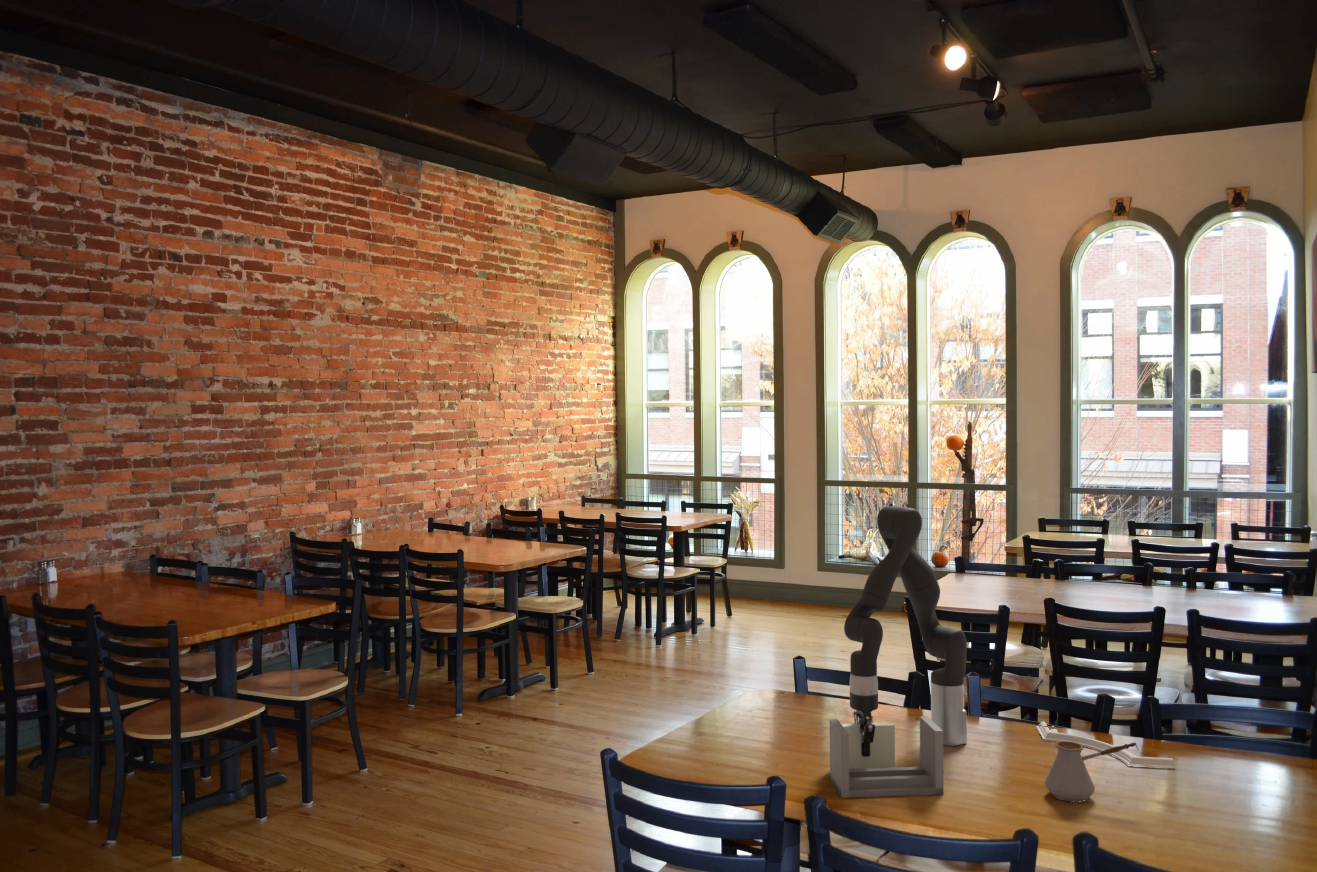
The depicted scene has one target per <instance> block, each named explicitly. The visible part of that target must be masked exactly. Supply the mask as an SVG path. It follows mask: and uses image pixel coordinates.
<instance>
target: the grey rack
mask: <svg viewBox="0 0 1317 872" xmlns="http://www.w3.org/2000/svg"><path fill="white" fill-rule="evenodd" d="M841 724H842V723H841V722H840V721H839V719H837V718H835V719H834V718H831V719H829V780H830V782H831V784H832V783H833V784H832V785H833V787H834V789H835V790H836V792H837V793H838V795H839V797H840V798H841V799H846V798H873V797H874V798H875V797H879V798H880V797H900V796H903V797H905V796H906V797H907V795H908V796H932V795H944V793H945V791H944V745H943V730H942V729H940V728H939V727H938V726H937V725H936V724H935V723H934V722H933V721H932V720H931V717H928V716H919V762H920V763H919V765H920V766H903V767H902V766H895V767H892V768H861V769H849V734H848V732H847V731H846V730H845V729H844V727H843V726H842V725H841Z"/></svg>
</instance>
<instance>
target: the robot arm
mask: <svg viewBox="0 0 1317 872" xmlns="http://www.w3.org/2000/svg"><path fill="white" fill-rule="evenodd" d="M921 515H922V514H921V513H920V512H919V511H918V510H917V509H915V508H912V507H903V506H895V505H894V506H893V505H892V506H891V505H889V506H884V507H882V508H881V509H880V510H879V511H878V513H877V518H876V520H877V521H876V523H877V528H878V532H879V534H880V536H881V538H882V540H883V542H884V544H885V545H886V547H887V550H888V553H887V554H886V555H884V557H883V559H882V560H881V561H879V563H878V564H876V566H875V567H874V568H873V569H872V570H871V571H870V573H869V575H868V577H867V579H866V582H865V584H864V587H863V589H862V593H861V595H860V598H858V601H857V602H856V603H855V605H854V606H853V608H852V609H851V611H850V612H849V614H848V615H847V616H846V619H845V622H844V624H843V625H844V626H843V629H844V635H845V636H846V638H848V640H850V641H852V642H853V641H854V642H857V643H861V644H862V645H861V648H860V650H854V651H853V652H851V654H850V658H849V659H850V661H849V663H850V664H849V665H850V666H849V667H850V669H849V670H850V673H849V674H850V677H849V707H850V708H851V709H853V710H855V711H853V721H854V724H859V733H860V734H861V750H862V756H863V757H869V756H870V743H871V742H873V738H874V732H875V725H874V724H872V723H874V716H873V715H872V712H873V711H875V710H877V709H879V681H878V662H877V661H878V656H879V653H880V649H881V645H882V641H883V636H884V630H883V626H882V624H881V622H880V621H879V620H878V619H876V618H873V617H871V616H872V615H873V614H876V613H881V612H883V611H884V610H885V609H886V606H887V604H888V600H889V598H890V595H891V592H892V590H893V586H894V585H895V581H896V579H897V577H898V575H899V576H900V577H901V581H902V584H903V587H904V589H905V592H906V595H907V596H908V599H909V601H910V604H911V606H912V609H913V611H914V612H913V613H914V615H915V617H916V620H917V623H918V627H919V631H920V635H921V639H922V643H923V646H924V648H925V650H926V652H927V653H928V654H929V655H930V656H932V657H934V658H937V659H942V660H945V663H944V667H943V668H942V667H941V668H938V669H934V670H932V671H931V673H930V719H931V720H932V721H933V722H934V723H935V724H936V725H937V726H938V727H939V728H940V729H942V730H943V746H949V747H950V746H951V747H955V746H961V745H964V744H965V745H966V744H967V742H968V738H967V737H968V736H967V735H968V733H967V731H968V728H967V723H968V722H967V721H968V720H967V718H968V717H967V710H966V708H965V695H964V694H965V693H964V692H965V690H964V689H965V688H964V687H965V686H964V685H965V680H964V679H965V675H966V670H967V653H968V652H967V650H968V641H967V638H966V634H965V632H963V630H961V629H958V628H954V627H948V626H942V624H941V623H940V622H939V619H938V616H937V614H936V609H937V605H938V604H939V601H940V596H941V588H940V584H939V582H938V578H937V576H936V574H935V571H934V569H933V568H932V567H931V565H930V564H929V563H928V562H927V561H926V559H924V558H923V557H922V555H920V553H918V551H916V549H914V546H915V544H916V543H917V541H918V538H919V536H920V533H921V530H922V526H923V518H922V516H921ZM862 730H864V731H862ZM866 737H868V738H866Z"/></svg>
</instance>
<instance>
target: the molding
mask: <svg viewBox="0 0 1317 872" xmlns="http://www.w3.org/2000/svg"><path fill="white" fill-rule="evenodd" d="M1039 725H1041V726H1039ZM1044 726H1048V725H1047V723H1046V722H1045V721H1041V722H1040V723H1039V724H1038V725H1036V726H1035V729H1036V731H1037V733H1038V734H1040V735H1041V736H1040V735H1039V736H1040V738H1041V737H1042V738H1041V740H1042V742H1050V741H1051V743H1057V742H1060V741H1069V742H1075V743H1079V744H1081V745H1082V746H1086V747H1088V748H1087V749H1090V748H1091V749H1090V750H1093V749H1094V751H1097V752H1101V751H1104V750H1107V749H1110V748H1113V747H1116V745H1112V744H1110V743H1107V742H1105V741H1101V740H1098V739H1093V738H1089V737H1085V736H1081V735H1076V734H1072V733H1071V734H1070V733H1065V732H1059V731H1058V730H1057V728H1056V729H1051V730H1049V728H1048V727H1049V726H1048V727H1044ZM1051 726H1052V727H1055V726H1054V725H1051ZM1086 747H1085V748H1086ZM1110 755H1113V756H1115V757H1116V758H1119V759H1120V760H1122V761H1124V762H1125V763H1127V764H1128V765H1134V764H1139V765H1141V764H1142V765H1148V766H1150V765H1151V766H1158V765H1162V766H1166V765H1167V766H1170V765H1172V766H1175V762H1174V759H1173V758H1171V757H1170V758H1169V757H1152V756H1151V757H1149V756H1138V755H1135V754H1133V753H1131V752H1129V751H1127V750H1126V749H1123V750H1121V751H1118V752H1115V753H1110ZM1110 755H1109V756H1110ZM1115 757H1114V758H1115ZM1116 758H1115V759H1116ZM1120 760H1119V761H1120ZM1122 761H1121V762H1122Z"/></svg>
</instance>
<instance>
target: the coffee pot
mask: <svg viewBox="0 0 1317 872" xmlns="http://www.w3.org/2000/svg"><path fill="white" fill-rule="evenodd" d="M1115 746H1116V745H1115ZM1133 747H1136V750H1137V751H1138V752H1140V751H1139V748H1138V746H1137V743H1136V742H1131V743H1129V744H1128V743H1125V744H1123V745H1117V746H1116V747H1113V748H1110V749H1107V750H1104V751H1101V752H1100V751H1097V752H1095V753H1091V754H1087V755H1083V756H1082V755H1081V753H1082V751H1083V750H1084V747H1083V746H1082V745H1081V744H1079V743H1075V742H1069V741H1060V742H1055V748H1057V751H1058V752H1057V754H1056V756H1055V759H1054V761H1053V763H1052V765H1051V767H1050V770H1049V771H1048V773H1047V776H1046V777H1045V780H1044V784H1045V787H1046V789H1047V791H1049V793H1051V795H1052V796H1053V795H1054V796H1055V797H1056V798H1055V797H1054V796H1053V797H1054V798H1055V799H1057V798H1058V799H1057V800H1059V799H1061V800H1060V801H1062V800H1065V801H1064V802H1066V801H1074V802H1073V803H1080V802H1079V801H1083V800H1085V799H1086V800H1087V799H1089V798H1090V797H1091V796H1093V795H1094V792H1095V788H1096V787H1095V785H1094V783H1093V780H1092V778H1091V775H1090V773H1089V771H1088V768H1087V767H1086V765H1085V764H1086V763H1085V762H1084V761H1087V760H1090V759H1093V758H1096V757H1100V756H1104V755H1108V754H1110V753H1115V752H1118V751H1121V750H1129V748H1133ZM1086 800H1085V801H1086ZM1083 802H1084V801H1083Z"/></svg>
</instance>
